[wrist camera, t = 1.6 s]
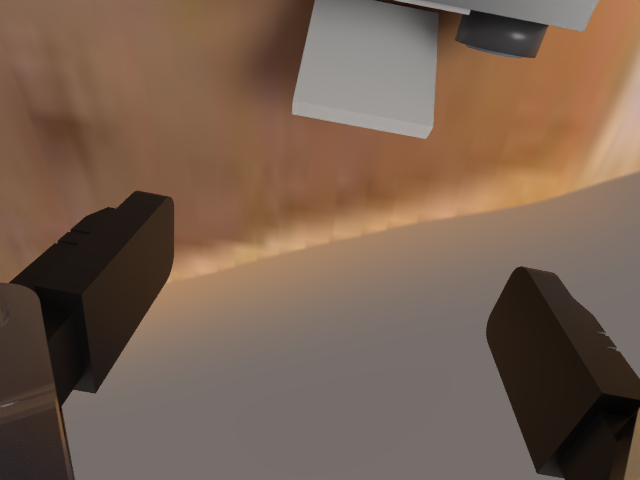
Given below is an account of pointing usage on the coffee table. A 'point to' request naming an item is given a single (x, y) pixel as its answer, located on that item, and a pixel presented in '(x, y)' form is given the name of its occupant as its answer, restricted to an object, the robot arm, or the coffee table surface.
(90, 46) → the coffee table surface
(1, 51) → the coffee table surface
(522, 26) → the camera body
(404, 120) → the door
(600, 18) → the coffee table surface
